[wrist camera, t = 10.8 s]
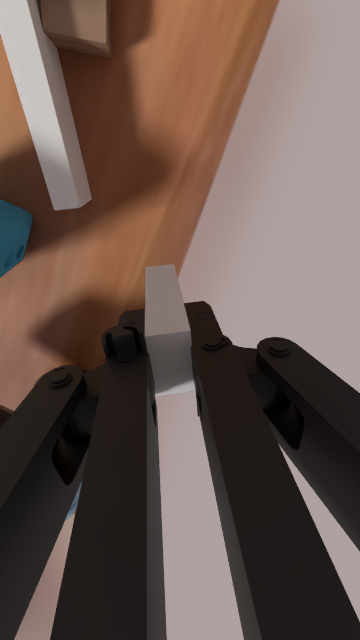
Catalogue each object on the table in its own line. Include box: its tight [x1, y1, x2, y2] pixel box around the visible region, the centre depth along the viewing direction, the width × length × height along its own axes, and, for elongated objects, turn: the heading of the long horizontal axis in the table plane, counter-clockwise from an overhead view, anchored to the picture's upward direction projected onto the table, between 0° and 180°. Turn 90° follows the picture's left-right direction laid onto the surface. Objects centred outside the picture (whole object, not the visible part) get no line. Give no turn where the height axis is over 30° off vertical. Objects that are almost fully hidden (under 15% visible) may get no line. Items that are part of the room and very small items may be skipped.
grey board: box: [0, 0, 92, 210], centre depth 29 cm, size 22×3×8 cm, turn 5°
